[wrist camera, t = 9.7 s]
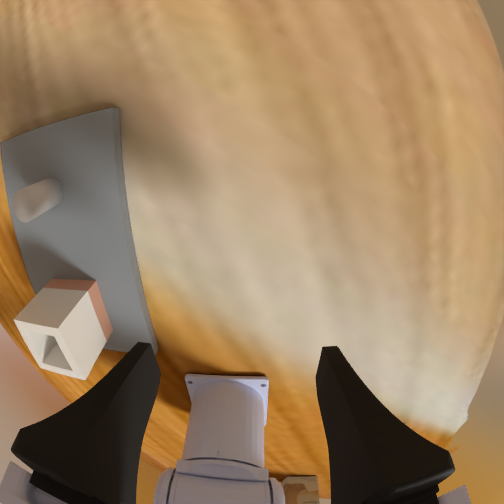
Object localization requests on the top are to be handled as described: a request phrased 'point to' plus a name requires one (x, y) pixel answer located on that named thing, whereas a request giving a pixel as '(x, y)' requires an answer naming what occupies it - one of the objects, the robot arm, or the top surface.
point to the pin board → (78, 216)
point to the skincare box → (301, 490)
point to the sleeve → (66, 326)
